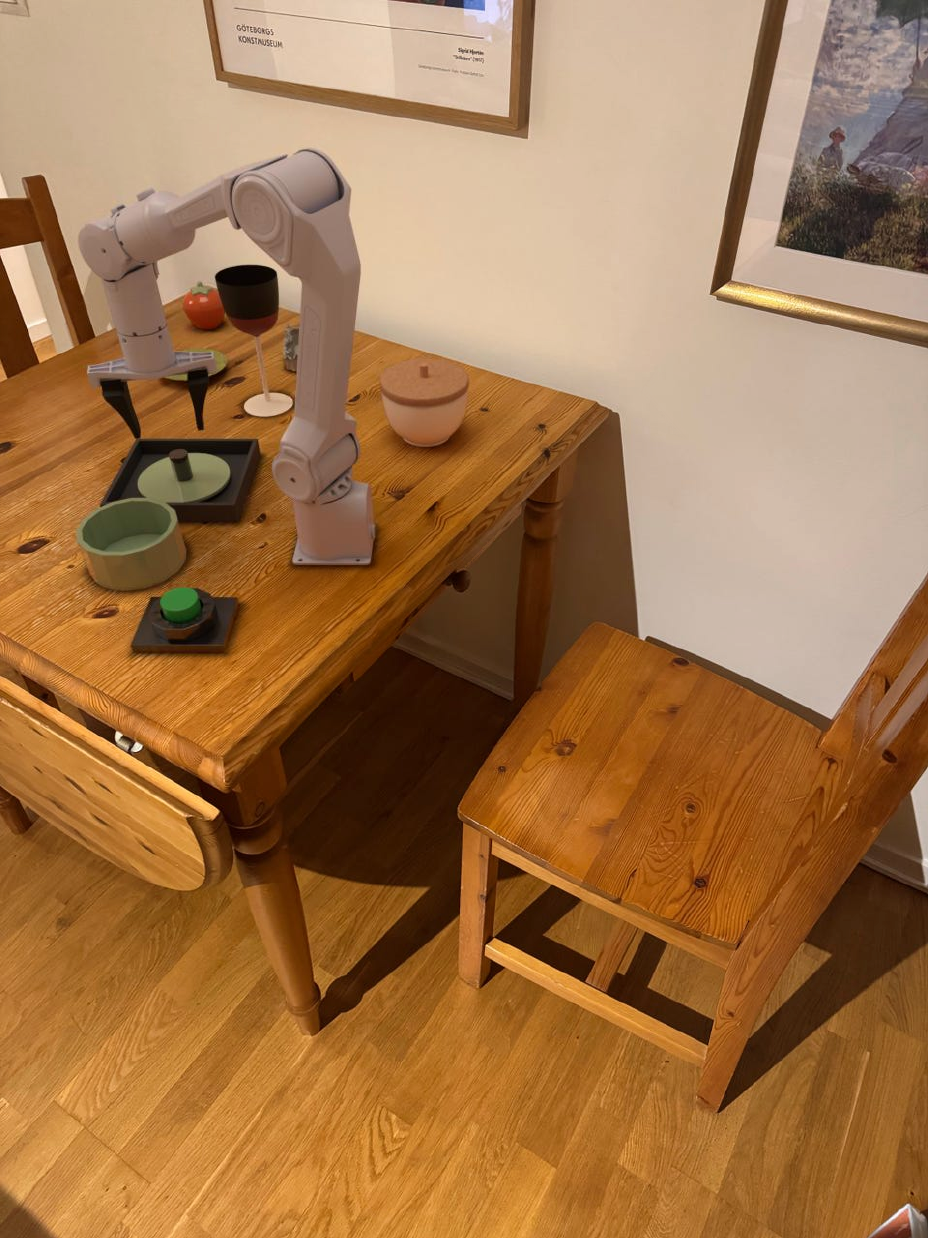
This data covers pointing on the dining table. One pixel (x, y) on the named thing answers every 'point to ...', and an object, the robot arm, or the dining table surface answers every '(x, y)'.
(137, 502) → the pot
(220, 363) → the mat
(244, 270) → the wineglass
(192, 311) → the tomato
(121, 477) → the tray
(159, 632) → the panel
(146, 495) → the lid
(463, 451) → the dining table surface
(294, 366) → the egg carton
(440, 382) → the lidded bowl
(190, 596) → the button
